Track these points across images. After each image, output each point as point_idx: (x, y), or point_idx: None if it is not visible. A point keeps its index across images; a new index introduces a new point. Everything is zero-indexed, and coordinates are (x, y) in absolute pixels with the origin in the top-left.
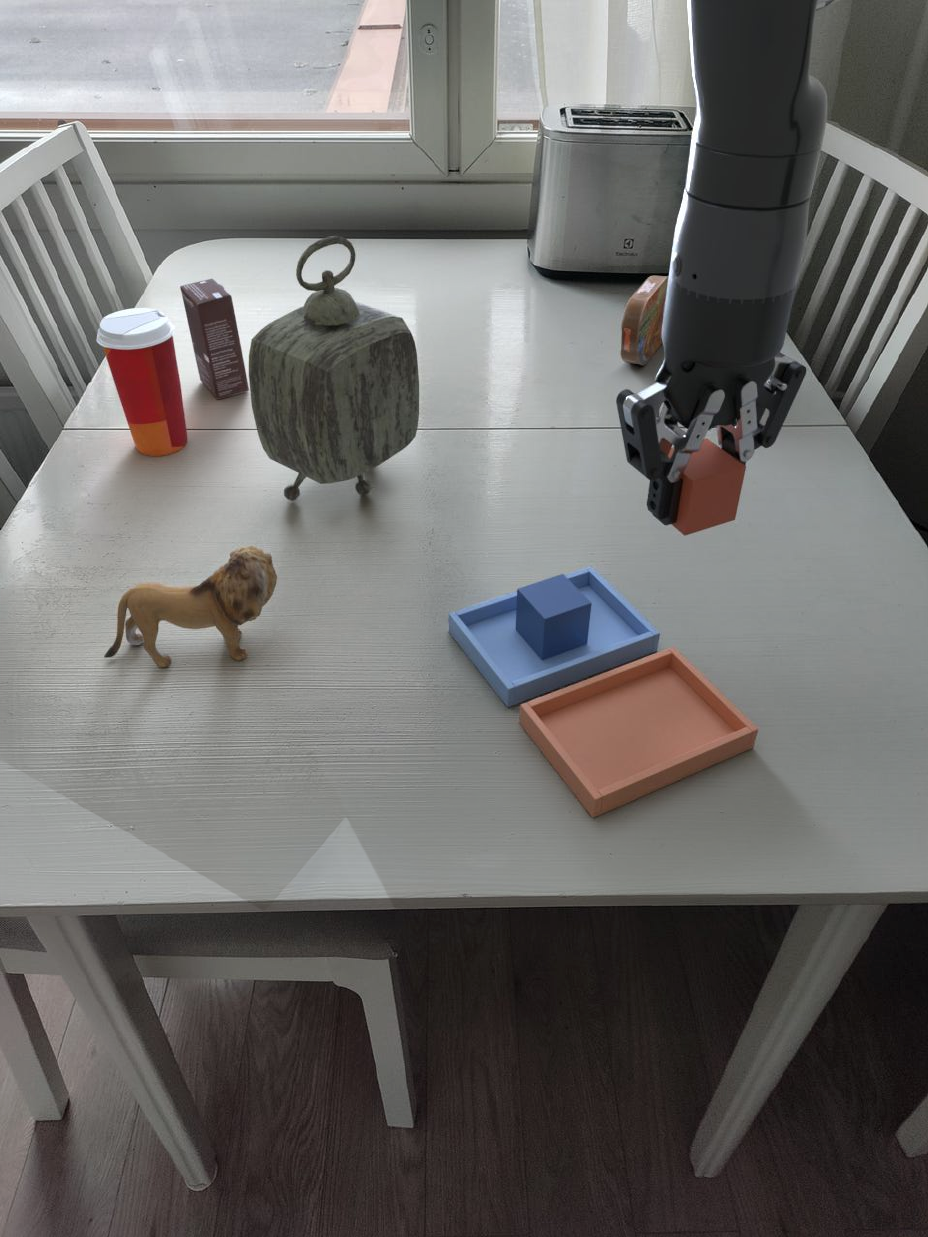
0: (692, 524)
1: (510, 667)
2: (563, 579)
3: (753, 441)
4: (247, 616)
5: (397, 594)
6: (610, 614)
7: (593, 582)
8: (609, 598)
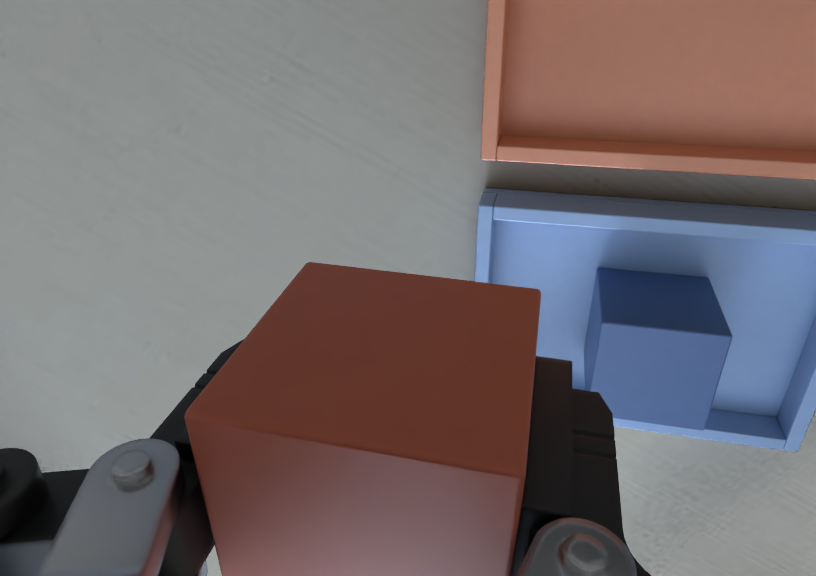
0: (506, 308)
1: (778, 293)
2: None
3: (66, 517)
4: None
5: (783, 526)
6: None
7: None
8: None
